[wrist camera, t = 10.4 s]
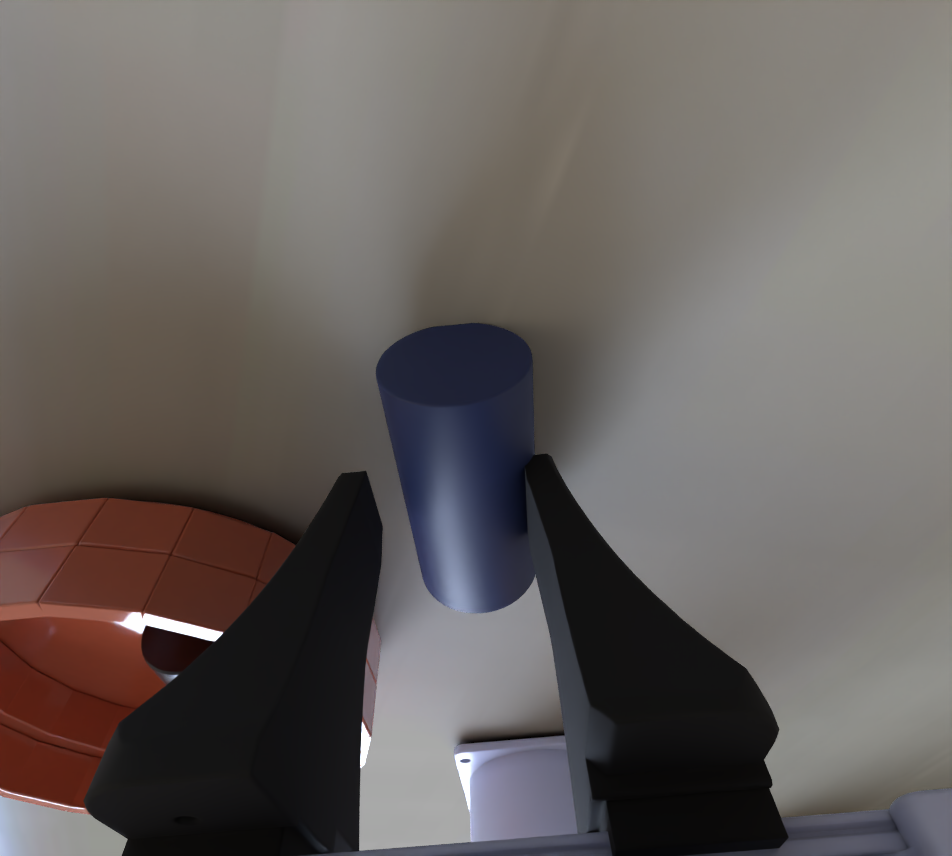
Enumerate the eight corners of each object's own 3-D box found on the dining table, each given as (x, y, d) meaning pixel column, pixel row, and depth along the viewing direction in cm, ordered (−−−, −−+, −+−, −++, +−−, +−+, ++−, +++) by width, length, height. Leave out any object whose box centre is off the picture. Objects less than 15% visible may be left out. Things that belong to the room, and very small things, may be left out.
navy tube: (561, 574, 16) (458, 636, 14) (495, 504, 18) (402, 552, 17) (565, 365, 11) (419, 428, 10) (478, 308, 14) (351, 353, 12)
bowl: (409, 699, 24) (403, 804, 21) (94, 727, 25) (43, 834, 22) (325, 460, 16) (295, 578, 12) (-162, 508, 16) (-310, 634, 13)
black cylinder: (309, 664, 22) (336, 740, 20) (223, 710, 21) (240, 797, 19) (248, 552, 18) (273, 632, 15) (135, 602, 17) (144, 698, 14)
